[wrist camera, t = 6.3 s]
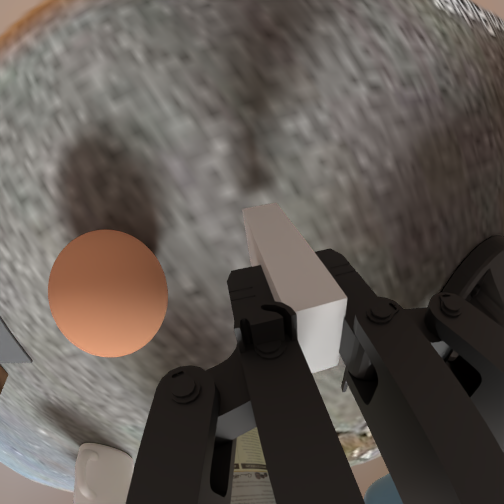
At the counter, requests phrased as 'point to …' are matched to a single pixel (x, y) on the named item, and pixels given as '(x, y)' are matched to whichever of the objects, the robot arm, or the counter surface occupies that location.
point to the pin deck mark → (11, 347)
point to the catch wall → (2, 378)
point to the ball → (107, 293)
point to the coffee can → (250, 472)
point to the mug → (102, 475)
